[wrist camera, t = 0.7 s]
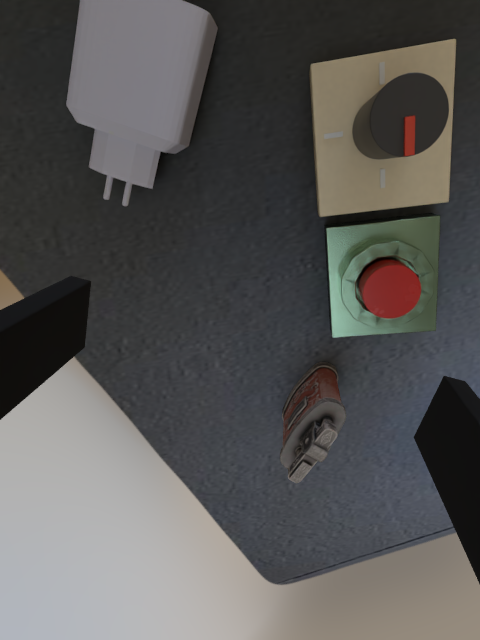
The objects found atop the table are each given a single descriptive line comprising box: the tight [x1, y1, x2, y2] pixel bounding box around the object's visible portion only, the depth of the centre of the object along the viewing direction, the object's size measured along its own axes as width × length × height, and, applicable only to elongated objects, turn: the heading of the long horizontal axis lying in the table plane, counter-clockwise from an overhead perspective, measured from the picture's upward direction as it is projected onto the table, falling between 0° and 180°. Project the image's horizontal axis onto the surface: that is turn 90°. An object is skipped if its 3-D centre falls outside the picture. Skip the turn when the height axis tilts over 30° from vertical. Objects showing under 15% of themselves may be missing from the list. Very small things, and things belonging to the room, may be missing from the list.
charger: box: [66, 0, 218, 206], centre depth 32 cm, size 5×9×15 cm
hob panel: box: [309, 39, 456, 217], centre depth 32 cm, size 11×10×3 cm
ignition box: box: [324, 213, 440, 338], centre depth 35 cm, size 10×9×4 cm
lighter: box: [280, 362, 346, 483], centre depth 37 cm, size 8×3×10 cm, turn 151°
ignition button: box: [359, 259, 421, 318], centre depth 32 cm, size 4×4×2 cm
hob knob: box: [352, 72, 449, 160], centre depth 27 cm, size 4×4×8 cm
